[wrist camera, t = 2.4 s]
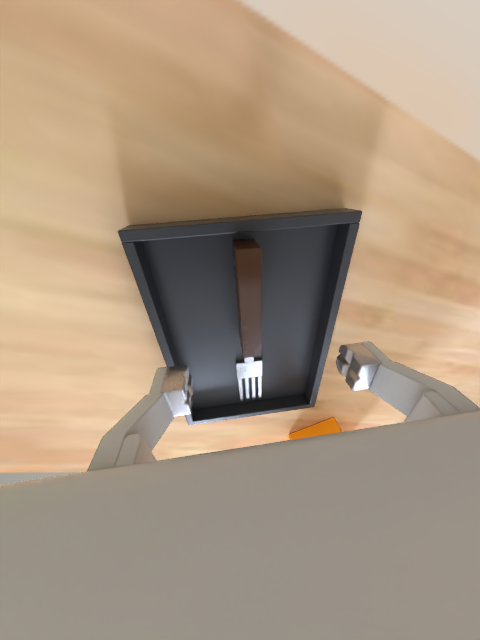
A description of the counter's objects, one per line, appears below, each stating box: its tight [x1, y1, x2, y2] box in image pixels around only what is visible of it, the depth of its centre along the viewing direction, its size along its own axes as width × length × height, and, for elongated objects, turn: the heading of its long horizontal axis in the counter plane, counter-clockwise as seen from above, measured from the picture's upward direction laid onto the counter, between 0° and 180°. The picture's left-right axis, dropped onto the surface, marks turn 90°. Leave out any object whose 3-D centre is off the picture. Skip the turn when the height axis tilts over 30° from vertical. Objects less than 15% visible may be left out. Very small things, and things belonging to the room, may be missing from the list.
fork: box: [232, 238, 262, 401], centre depth 18 cm, size 18×3×3 cm, turn 3°
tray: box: [118, 208, 362, 425], centre depth 19 cm, size 21×15×2 cm
